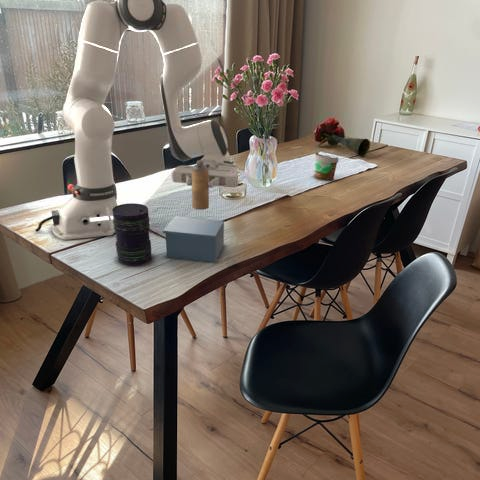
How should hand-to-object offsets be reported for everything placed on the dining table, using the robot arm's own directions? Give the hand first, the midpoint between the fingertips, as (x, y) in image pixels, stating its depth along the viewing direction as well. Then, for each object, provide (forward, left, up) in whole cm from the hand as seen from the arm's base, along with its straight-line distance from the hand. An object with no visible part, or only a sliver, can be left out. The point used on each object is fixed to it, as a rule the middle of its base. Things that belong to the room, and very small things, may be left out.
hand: (199, 183), depth 141 cm
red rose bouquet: (+125, +80, -19) cm, 150 cm away
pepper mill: (+1, +1, -7) cm, 7 cm away
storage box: (-4, -4, -19) cm, 20 cm away
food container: (+80, +41, -19) cm, 92 cm away
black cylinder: (-22, -1, -19) cm, 29 cm away
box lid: (-4, -4, -12) cm, 13 cm away
